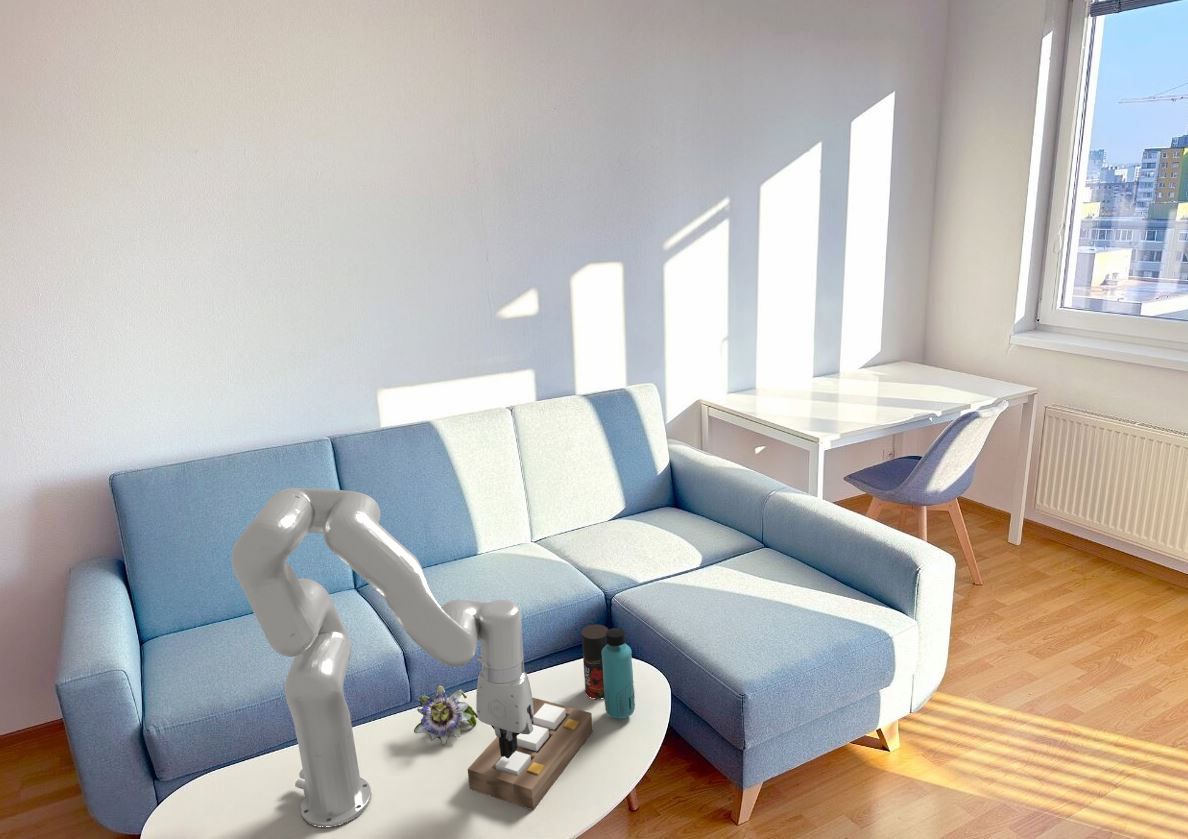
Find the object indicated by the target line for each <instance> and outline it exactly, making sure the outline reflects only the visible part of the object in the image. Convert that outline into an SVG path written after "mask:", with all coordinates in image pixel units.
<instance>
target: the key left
mask: <svg viewBox="0 0 1188 839" xmlns="http://www.w3.org/2000/svg"><path fill="white" fill-rule="evenodd" d="M530 762H531V755H528V754H524V753H521V752H518V751H515V752H514V753H513V754H512V755H511V756H510V758H506V757H505V756H504V757H502V758H501V759H500V760H499V761H498V762H497V763H496V770H499V771H503V772H506V773H509V774H512V775H515V776H518V777H519V775H520V774H521V773H522V772H523V771H524V769H525V768H526V767H527V766H528V764H529V763H530Z"/></svg>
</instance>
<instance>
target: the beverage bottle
mask: <svg viewBox="0 0 1188 839" xmlns="http://www.w3.org/2000/svg"><path fill="white" fill-rule="evenodd" d="M626 641H627V640H626V633H625V631H624V630H623V629H622V628H619V627H613V628H608V631H607V632H606V643H607V645H606V646H605V647H604V648H603V649H602V663H603V682H604V684H603V685H604V689H603V690H604V691H603V693H604V699H603V702H604V708H605V709H604V710H605V712H606V713H607V715H608V716H609V717H611V718H614V719H625V718H628V717H630V716H632V715H633V714H634V711H635V709H636V700H635V684H634V683H635V681H634V670H633V661H632V660H633V659H632V658H633V657H632V649H631V647H630V646H629V645H628V644H627V643H626Z"/></svg>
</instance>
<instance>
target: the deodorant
mask: <svg viewBox="0 0 1188 839" xmlns="http://www.w3.org/2000/svg"><path fill="white" fill-rule="evenodd" d="M608 630H609V628H608V627H607V626H605V625H604V624H590V625H586V626H585V627H583V628H582V630H581V643H582V644H581V645H582V646H581V648H582V658H583V673H584V675H583V676H584V678H583V679H584V688H585V690H584V691H585V695H586V694H587V695H588V696H589V697H591V698H595V699H594V700H597V699H599V700H602V699H601V698H604V693H603V691H604V690H603V689H604V685H603V684H604V682H603V663H602V649H603V648H604V647H605V646H606V645H607V643H606V632H607V631H608ZM587 695H586V696H587ZM588 696H587V697H588ZM589 697H588V698H589ZM591 698H590V699H591Z"/></svg>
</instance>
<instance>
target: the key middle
mask: <svg viewBox="0 0 1188 839" xmlns="http://www.w3.org/2000/svg"><path fill="white" fill-rule="evenodd" d="M532 726H533V731H532V732H531V733H530V734H521V733H520V734H519V735H517V746H519V747H522V748H526V749H529V750H533V751H536V752H537V751H538V750H539V748H540V747H541V746H542V745H543V743H544V742H545V741H546V740H547V739H548V737H549V731H548V729H547V728H543V727H539V726H536V725H532Z"/></svg>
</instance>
